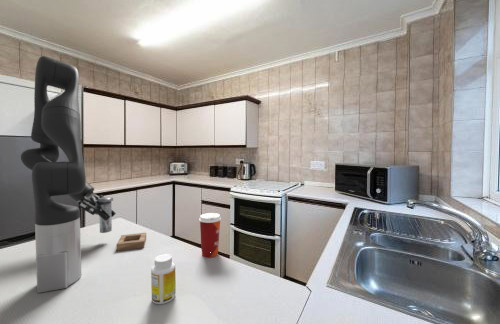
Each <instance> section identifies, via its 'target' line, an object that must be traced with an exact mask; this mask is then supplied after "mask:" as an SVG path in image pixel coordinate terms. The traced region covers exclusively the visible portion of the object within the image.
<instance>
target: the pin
mask: <svg viewBox="0 0 500 324" xmlns="http://www.w3.org/2000/svg"><path fill="white" fill-rule="evenodd" d="M104 197H105V196H104ZM113 201H114V197H107V196H106V197H105V198H99V199H97V202H99V204H100V207H101V208H102V209H103V210H104V211H105V212H106V213H108V214H109V215H110V218H109V219H108V220H106V221H105V220H104V219H103V218H102V217H100V216H99V215H98V216H99V233H100V234H105V233H110V232H112V231H113V228H112V227H113V220H112V210H113V209H112V202H113ZM111 209H112V210H111ZM103 210H102V211H103Z"/></svg>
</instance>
